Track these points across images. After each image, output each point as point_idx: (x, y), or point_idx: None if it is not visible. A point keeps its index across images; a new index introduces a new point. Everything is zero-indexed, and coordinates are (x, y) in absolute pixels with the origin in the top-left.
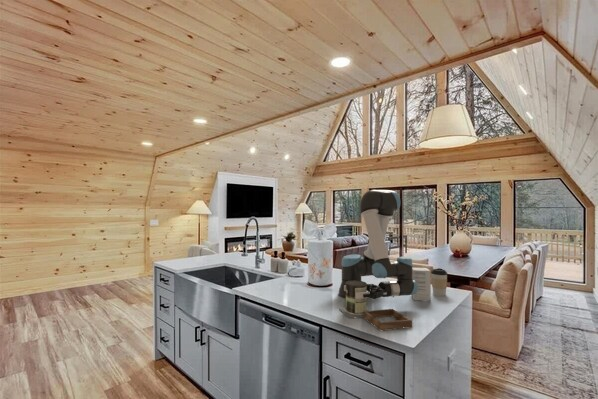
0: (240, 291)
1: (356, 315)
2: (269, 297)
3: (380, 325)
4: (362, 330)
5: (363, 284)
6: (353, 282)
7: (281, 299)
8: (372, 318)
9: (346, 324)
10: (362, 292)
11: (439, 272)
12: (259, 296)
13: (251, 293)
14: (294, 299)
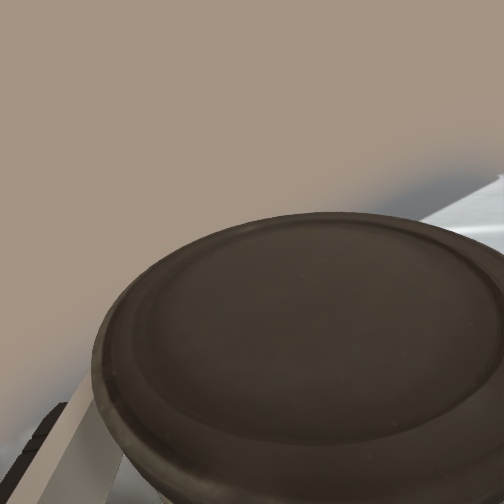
0: (500, 175)
1: None
2: (476, 206)
3: None
4: (24, 436)
5: (167, 368)
6: (349, 258)
7: (469, 223)
8: None
9: None
10: (88, 378)
11: None
12: (472, 196)
13: (495, 185)
14: (497, 244)
